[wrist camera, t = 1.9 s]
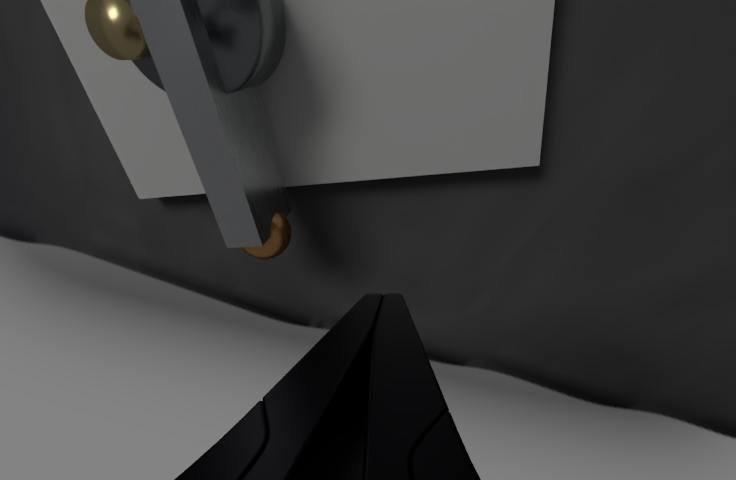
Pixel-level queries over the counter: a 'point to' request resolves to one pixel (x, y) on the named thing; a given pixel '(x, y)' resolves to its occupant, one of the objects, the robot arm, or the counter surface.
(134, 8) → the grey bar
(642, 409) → the counter surface
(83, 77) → the white mechanism board
